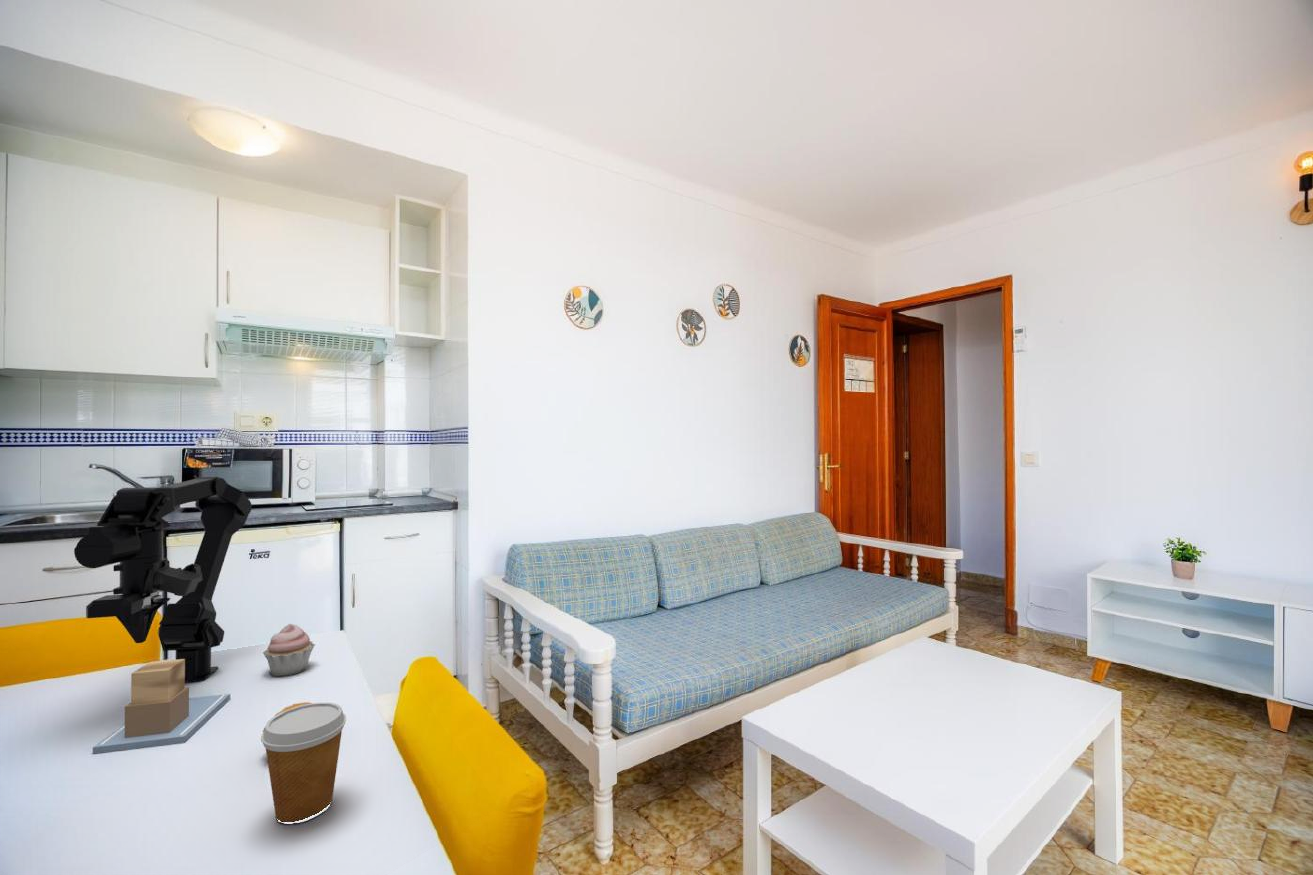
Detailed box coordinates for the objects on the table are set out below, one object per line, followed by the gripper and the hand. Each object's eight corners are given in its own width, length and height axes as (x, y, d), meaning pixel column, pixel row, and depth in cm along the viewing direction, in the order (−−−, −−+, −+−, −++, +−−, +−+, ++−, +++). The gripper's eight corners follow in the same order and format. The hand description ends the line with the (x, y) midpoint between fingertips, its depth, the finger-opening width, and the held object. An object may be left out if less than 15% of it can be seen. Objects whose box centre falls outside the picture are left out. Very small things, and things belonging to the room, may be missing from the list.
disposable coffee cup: (329, 778, 80) (329, 694, 81) (358, 805, 74) (358, 714, 74) (249, 812, 73) (250, 719, 73) (274, 845, 67) (275, 744, 67)
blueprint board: (153, 707, 102) (153, 674, 102) (230, 699, 106) (230, 667, 106) (92, 753, 87) (92, 714, 87) (184, 742, 90) (185, 705, 90)
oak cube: (149, 691, 95) (149, 661, 95) (184, 688, 97) (184, 658, 97) (131, 704, 90) (131, 673, 90) (168, 700, 92) (168, 670, 92)
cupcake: (259, 683, 112) (259, 633, 113) (265, 667, 121) (265, 620, 121) (313, 674, 117) (314, 626, 117) (316, 659, 125) (316, 614, 125)
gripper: (165, 564, 95) (164, 656, 95) (218, 545, 113) (217, 622, 113) (84, 568, 92) (83, 663, 92) (151, 548, 110) (150, 627, 110)
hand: (140, 642), depth 102 cm, fingers closed
